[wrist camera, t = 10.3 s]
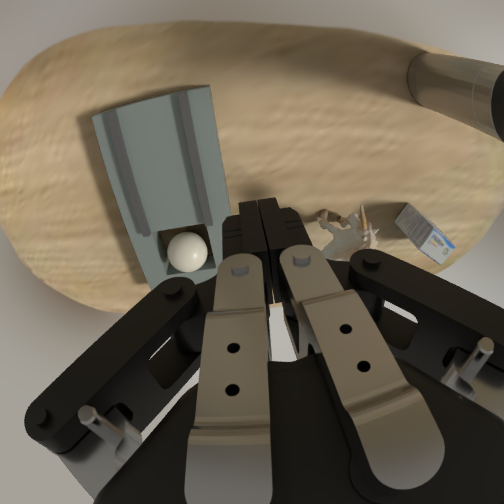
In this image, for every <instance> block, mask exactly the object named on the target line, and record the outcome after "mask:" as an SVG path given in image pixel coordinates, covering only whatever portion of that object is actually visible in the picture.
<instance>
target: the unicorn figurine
mask: <svg viewBox="0 0 504 504" xmlns="http://www.w3.org/2000/svg"><path fill="white" fill-rule="evenodd" d="M360 214H361V220H360V219H359V218H358V216H357V214H356V213H352V214H350V215H349V216H348V217H342V218H339V219H338V222H339V223H340V224H341V226H342V228H345V227H348V226H349V225H351V227H352V229H351V228H349V229H344V230H341V229H339V228H337V227H334V226H333V225H332V224H329V223H328V220H327V217H328V211H327V210H323V211H322V212H321V214H320V215H321V218H322V220H320V221H319V223H320V226H321V228H322V229H326V228H327V229H328V231H330V232H331V233H332V234H333V235H334V236H333V237H334V239H333V240H332V241H331V242H330V243H329V244H328V245H326V246H325V247H324V249H323V250H322V253H323V255H324V257H325V258H327V259H330V260H336V261H350V257H351V255H352V254H353V253H355V252H356V251H358V250H361V249H376V248H377V247H376V245H377V243H378V241H377V240H376V237H375V234H376V232H377V231H378V230H379V228H377V229H373V228H372V225H371V223H370V222H367V220H366V217H365V212H364V207H363V205H361V206H360Z"/></svg>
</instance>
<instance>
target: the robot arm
mask: <svg viewBox="0 0 504 504" xmlns="http://www.w3.org/2000/svg"><path fill="white" fill-rule="evenodd" d="M408 85H409V89H410V92H411V94H412V96H413V97H414V99H415V100H416V101H417V102H418V103H419V104H420V105H422V106H423V107H425V108H428V109H431V110H433V111H436V112H438V113H441V114H443V115H446V116H448V117H450V118H453V119H455V120H458V121H460V122H462V123H464V124H467V125H469V126H471V127H473V128H475V129H478V130H480V131H482V132H484V133H486V134H488V135H490V136H492V137H494V138H496V139H498V140H500V141H502V142H504V66H503V65H499V64H494V63H489V62H484V61H479V60H474V59H469V58H463V57H456V56H449V55H442V54H434V53H423V54H420V55H418V56H417V57H415V58H414V60H413V61H412V62H411V64H410V66H409V70H408ZM238 204H239V213H240V215H233V216H227V217H226V219H225V220H224V222H223V223H222V257H223V261H222V262H221V263H220V264H219V266H218V271H217V274H216V275H215V276H213V277H212V278H210V279H208V280H206V281H204V282H201V283H198V284H196V285H195V283H194V282H193V281H192V280H191V279H189V278H187V277H173V278H169V279H167V280H164V281H163V282H161V283H160V284H159V285H157V286H156V287H155V288H154V289H153V290H152V291H151V292H150V293H148V294H147V295H146V296H145V297H144V298H143V299H142V300H141V301H139V302H138V303H137V304H136V305H135V306H134V307H133V308H132V309H131V310H129V311H128V312H127V313H126V314H125V315H124V316H123V317H122V318H121V319H119V320H118V322H116V323H115V324H114V325H113V326H112V327H111V328H110V329H109V330H108V331H106V332H105V333H104V334H103V335H102V336H101V337H100V338H99V339H98V340H97V341H96V342H94V343H93V344H92V345H91V346H90V347H89V348H88V349H87V350H86V351H85V352H84V353H83V354H82V355H81V356H80V357H78V358H77V359H76V360H75V361H74V363H72V364H71V365H70V366H69V367H68V368H67V369H66V370H65V371H64V372H63V373H62V374H61V375H60V376H59V377H58V378H57V379H56V380H55V381H54V382H52V383H51V384H50V386H49V387H47V388H46V389H45V390H44V391H43V392H42V393H41V395H39V396H38V397H37V398H36V399H35V400H34V401H33V402H32V403H31V404H30V406H29V407H28V409H27V411H26V414H25V419H24V423H25V429H26V431H27V433H28V435H29V436H30V437H31V438H32V439H34V440H35V441H37V442H38V443H40V444H41V445H43V446H44V447H46V448H47V449H48V450H49V451H51V452H52V453H54V454H56V455H57V456H59V458H60V459H61V460H62V462H63V463H64V464H65V465H66V467H67V468H68V469H69V471H70V472H71V473H72V474H73V476H74V477H75V478H76V479H77V480H78V482H79V483H80V484H81V485H82V486H83V488H84V489H85V490H86V491H87V492H88V493H89V494H90V496H91V497H92V498H93V499H94V503H93V504H504V309H503V308H501V307H499V306H497V305H495V304H493V303H491V302H489V301H487V300H485V299H483V298H481V297H479V296H477V295H475V294H473V293H471V292H469V291H467V290H465V289H463V288H461V287H459V286H457V285H455V284H453V283H450V282H448V281H446V280H444V279H442V278H440V277H438V276H436V275H433V274H431V273H429V272H427V271H425V270H423V269H420V268H418V267H416V266H414V265H411V264H409V263H407V262H405V261H403V260H400V259H398V258H396V257H393V256H391V255H389V254H387V253H384V252H382V251H379V250H376V249H361V250H358V251H356V252H355V253H353V254H352V255H351V257H350V261H336V260H330V259H327V258H325V257H324V255H323V253H322V252H321V251H320V250H319V249H317V248H316V247H313V245H312V243H311V241H310V238H309V236H308V234H307V232H306V229H305V227H304V225H303V223H302V221H301V218H300V216H299V214H298V212H296V211H295V210H293V209H292V208H290V207H288V208H281V209H280V208H279V206H278V203H277V200H276V198H275V197H274V198H267V199H260V200H258V206H257V202H256V200H253V201H246V202H240V203H238ZM272 290H273V295H274V300H275V303H279V302H282V305H283V312H284V321H285V324H286V327H287V330H288V333H289V336H290V339H291V342H292V345H293V349H294V352H295V355H296V358H297V360H296V361H293V362H278V361H277V362H276V361H272V354H271V340H270V326H269V317H270V308H269V304H273V295H272ZM385 300H386V301H388V302H390V303H392V304H394V305H396V306H398V307H400V308H402V309H404V310H406V311H407V312H409V313H411V314H413V315H414V316H415V317H416V319H417V321H418V323H415V322H413V321H411V320H409V319H407V318H405V317H403V316H401V315H399V314H398V313H395V312H394V311H392V310H390V309H388V308H386V307H384V302H385ZM169 337H171V339H170V340H169V341H168V342H167V343H166V344H165V345H164V346H163V347H162V348H161V349H160V350H159V351H158V352H157V353H156V354H155V355H154V356H153V357H152V358H151V359H150V357H151V356H152V355H153V354H154V353H155V351H157V350H158V349H159V348H160V346H161V345H162V344H163V343H164V342H165V341H166V340H167V339H168V338H169ZM149 359H150V360H149ZM199 368H200V374H199V382H198V383H197V384H196V385H194V386H193V387H192V388H190V389H189V390H188V391H187V392H186V393H185V394H184V395H183V396H182V397H181V398H180V399H179V400H178V401H177V403H176V404H175V405H174V406H173V407H172V409H171V410H170V411H169V412H168V413H167V415H166V416H165V417H164V418H163V419H162V421H161V422H160V423H159V424H158V425H157V427H156V428H155V429H154V430H153V431H152V432H151V433H150V435H149V436H148V437H147V438H146V439H145V441H144V442H143V443H142V435H141V432H142V431H143V430H144V429H145V428H146V427H147V426H148V425H149V424H150V423H151V421H152V420H153V419H154V418H155V417H156V416H157V415H158V414H159V413H160V412H161V410H162V409H163V408H164V407H165V406H166V405H167V404H168V403H169V402H170V401H171V399H172V398H173V397H174V396H175V395H176V394H177V393H178V392H179V391H180V389H181V388H182V387H183V386H184V385H185V384H186V383H187V382H188V380H189V379H190V378H191V377H192V376H193V375H194V374H195V372H196V371H197V370H198V369H199Z"/></svg>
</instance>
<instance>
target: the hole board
mask: <svg viewBox="0 0 504 504" xmlns="http://www.w3.org/2000/svg"><path fill="white" fill-rule="evenodd" d="M92 120H93V124H94V128H95V132H96V136H97V139H98V143H99V146H100V150H101V153H102V157H103V160H104V164H105V167H106V170H107V173H108V177H109V180H110V183H111V186H112V189H113V192H114V195H115V198H116V201H117V204H118V207H119V210H120V212H121V215H122V218H123V221H124V224H125V226H126V229H127V232H128V234H129V237H130V240H131V242H132V245H133V247H134V250H135V253H136V255H137V258H138V260H139V262H140V265H141V267H142V270H143V272H144V275H145V277H146V279H147V282H148V284H149V286H150V289H151V291H152V290H153V289H154V288H155V287H156V286H157V285H159V284H160V283H161V282H163V281H164V280H167V279H169V278H173V277H187V278H189V279H191V280H192V281H193V282H194V283H195V285H196V284H198V283H201V282H204V281H206V280H208V279H210V278H212V277H213V276H215V275H216V274H217V271H218V266H219V264H220V263H221V262H222V261H223V257H222V223H223V222H224V220H225V219H226V217H227V216H232V215H231V209H230V203H229V197H228V192H227V186H226V180H225V174H224V168H223V162H222V156H221V150H220V144H219V138H218V132H217V126H216V120H215V114H214V108H213V102H212V96H211V89H210V85H208V86H202V87H197V88H192V89H187V90H182V91H177V92H173V93H168V94H164V95H160V96H155V97H151V98H148V99H144V100H140V101H136V102H133V103H129V104H126V105H122V106H119V107H116V108H113V109H109V110H106V111H103V112H101V113H99V114H97V115H95V116H93V117H92ZM203 223H205V227H207V230H208V235H209V239H210V243H211V248H212V252H213V255H211V256H207V258H206V261H205V263H204V264H203V265H202V266H201V267H200V268H199V269H198V270H196V271H193V272H182V271H179V270H177V269H176V268H174V267H173V265H172V264H171V263H170V262H169V260H168V257H167V254H166V251H165V248H164V245H163V242H162V239H161V236H160V233H159V231H162V230H167V229H173V228H179V227H185V226H191V225H197V224H203Z"/></svg>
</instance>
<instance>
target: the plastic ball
mask: <svg viewBox="0 0 504 504" xmlns="http://www.w3.org/2000/svg"><path fill="white" fill-rule="evenodd" d="M167 254H168V259H169V261H170V263H171V264H172V265H173V267H174V268H176V269H177V270H179V271H182V272H193V271H196V270H198V269H199V268H200V267H201V266H202V265H203V264H204V263H205V261H206V258H207V246H206V243H205V241H204V240H203V239H202V238H201V237H200V236H199V235H197V234H196V233H193V232H182V233H179V234H177V235H176V236H175V237H173V238H172V240H171V241H170V243H169V245H168V250H167Z"/></svg>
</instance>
